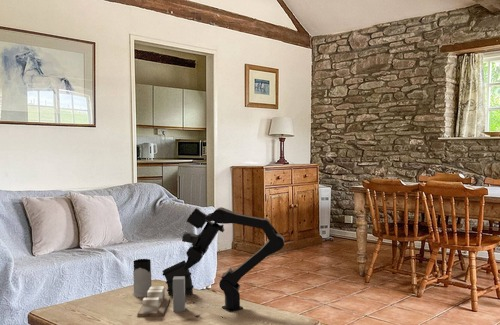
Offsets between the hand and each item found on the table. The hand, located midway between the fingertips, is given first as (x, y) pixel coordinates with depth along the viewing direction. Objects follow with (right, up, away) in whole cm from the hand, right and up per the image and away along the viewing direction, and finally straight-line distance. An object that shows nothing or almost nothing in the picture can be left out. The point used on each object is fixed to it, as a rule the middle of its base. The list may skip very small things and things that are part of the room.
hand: (187, 267), depth 197 cm
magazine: (-7, -17, +20) cm, 27 cm away
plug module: (-3, -17, -1) cm, 17 cm away
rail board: (-14, -17, +1) cm, 22 cm away
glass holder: (-23, -17, +23) cm, 36 cm away
